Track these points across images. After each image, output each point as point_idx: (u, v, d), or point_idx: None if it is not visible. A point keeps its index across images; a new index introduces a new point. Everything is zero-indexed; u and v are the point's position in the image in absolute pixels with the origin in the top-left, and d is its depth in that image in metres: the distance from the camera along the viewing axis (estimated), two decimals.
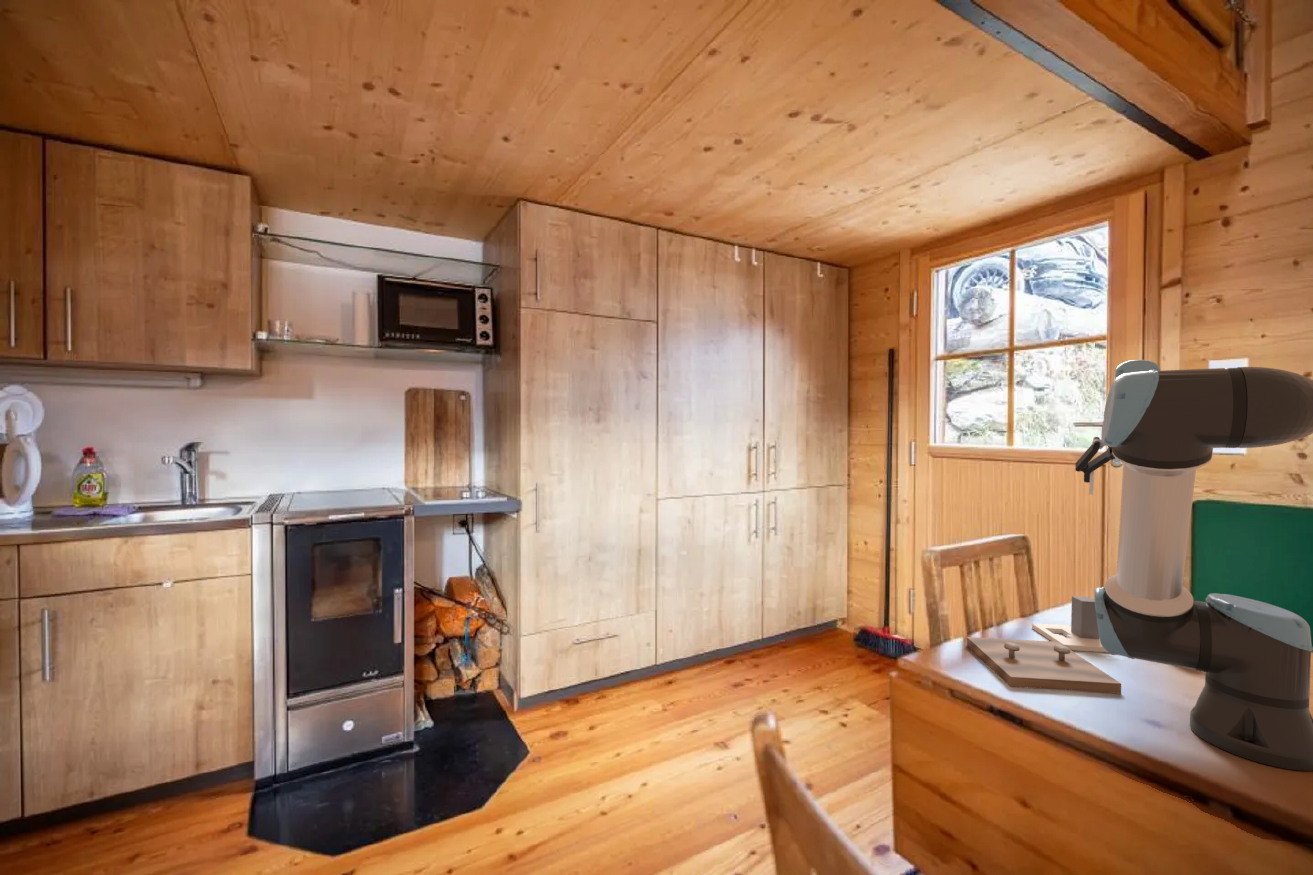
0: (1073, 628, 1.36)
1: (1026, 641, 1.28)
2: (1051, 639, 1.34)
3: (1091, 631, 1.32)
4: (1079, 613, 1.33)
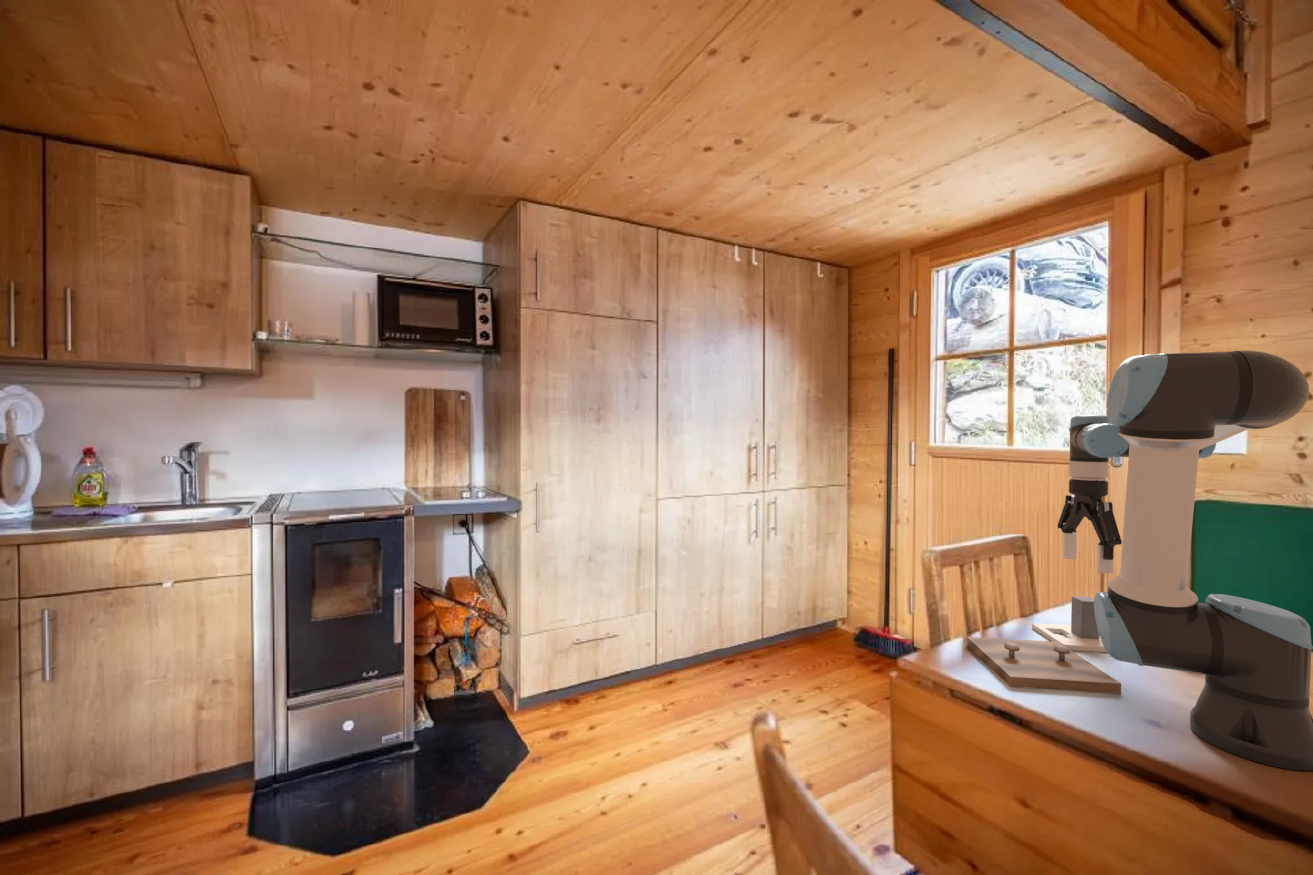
0: (1073, 628, 1.36)
1: (1026, 641, 1.28)
2: (1051, 639, 1.34)
3: (1091, 631, 1.32)
4: (1079, 613, 1.33)
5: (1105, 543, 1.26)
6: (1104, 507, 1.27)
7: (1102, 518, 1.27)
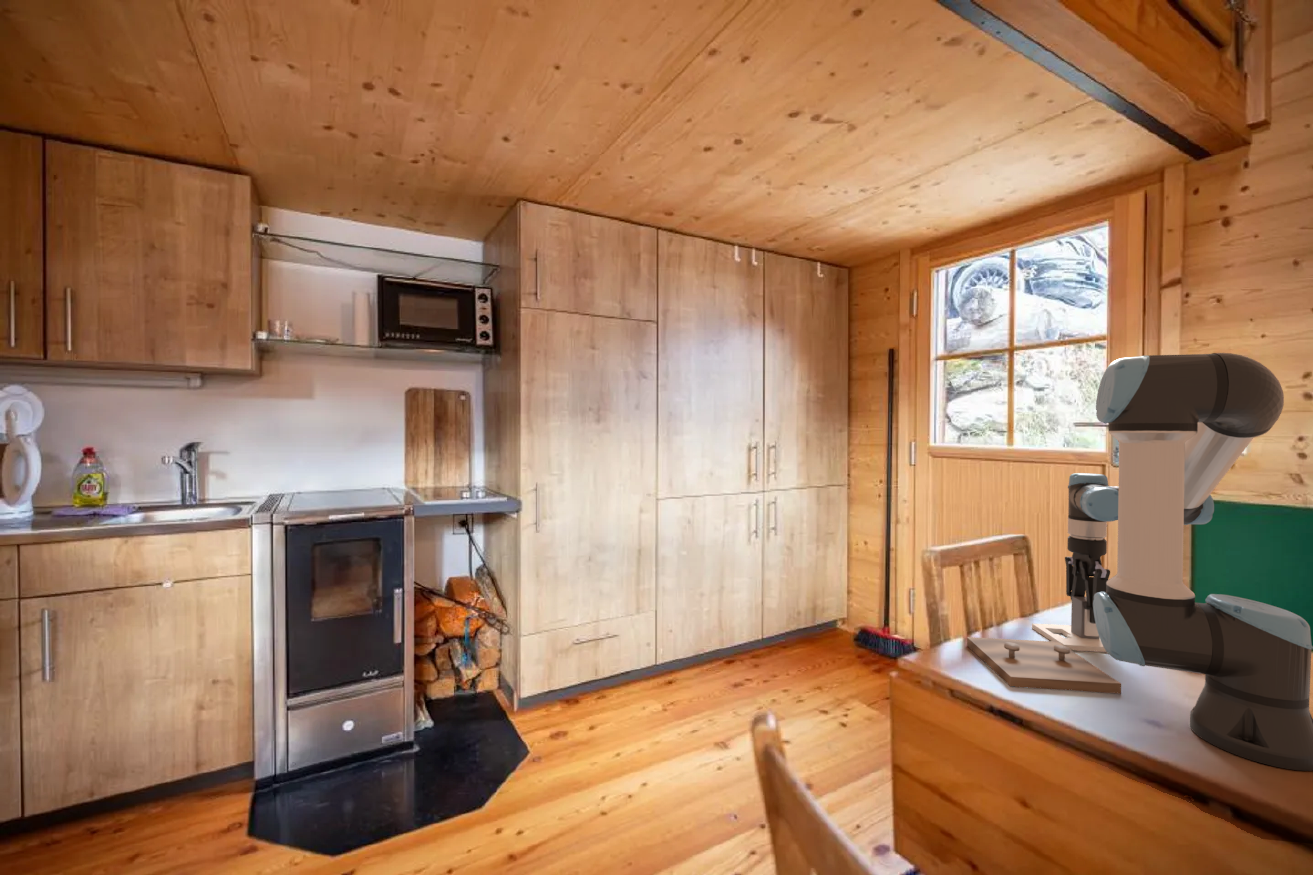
0: (1073, 628, 1.36)
1: (1026, 641, 1.28)
2: (1051, 639, 1.34)
3: None
4: (1079, 613, 1.33)
5: (1091, 608, 1.31)
6: (1101, 575, 1.28)
7: (1095, 584, 1.29)
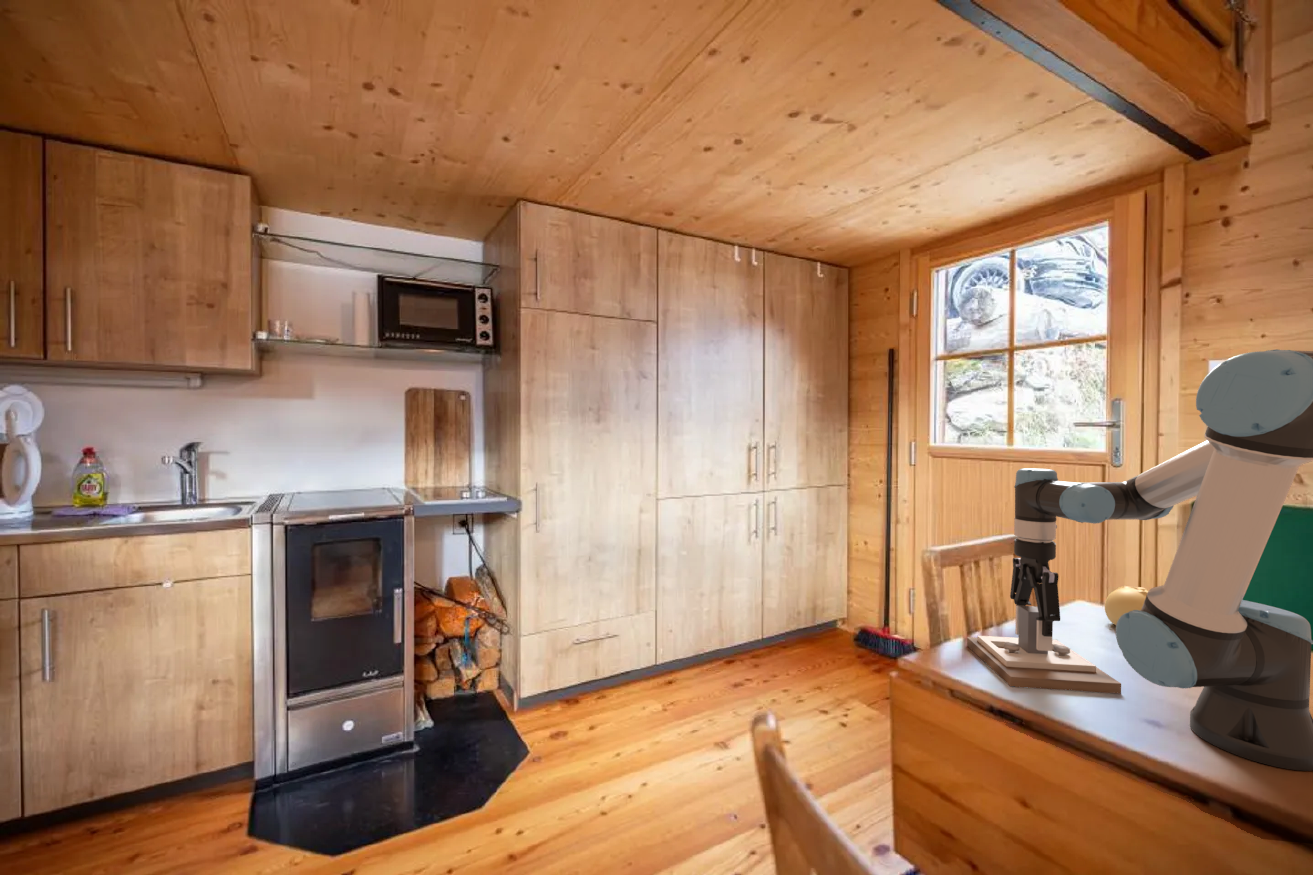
0: (1020, 642, 1.22)
1: None
2: (995, 654, 1.20)
3: None
4: (1026, 625, 1.20)
5: (1043, 619, 1.15)
6: (1049, 579, 1.14)
7: (1044, 591, 1.14)
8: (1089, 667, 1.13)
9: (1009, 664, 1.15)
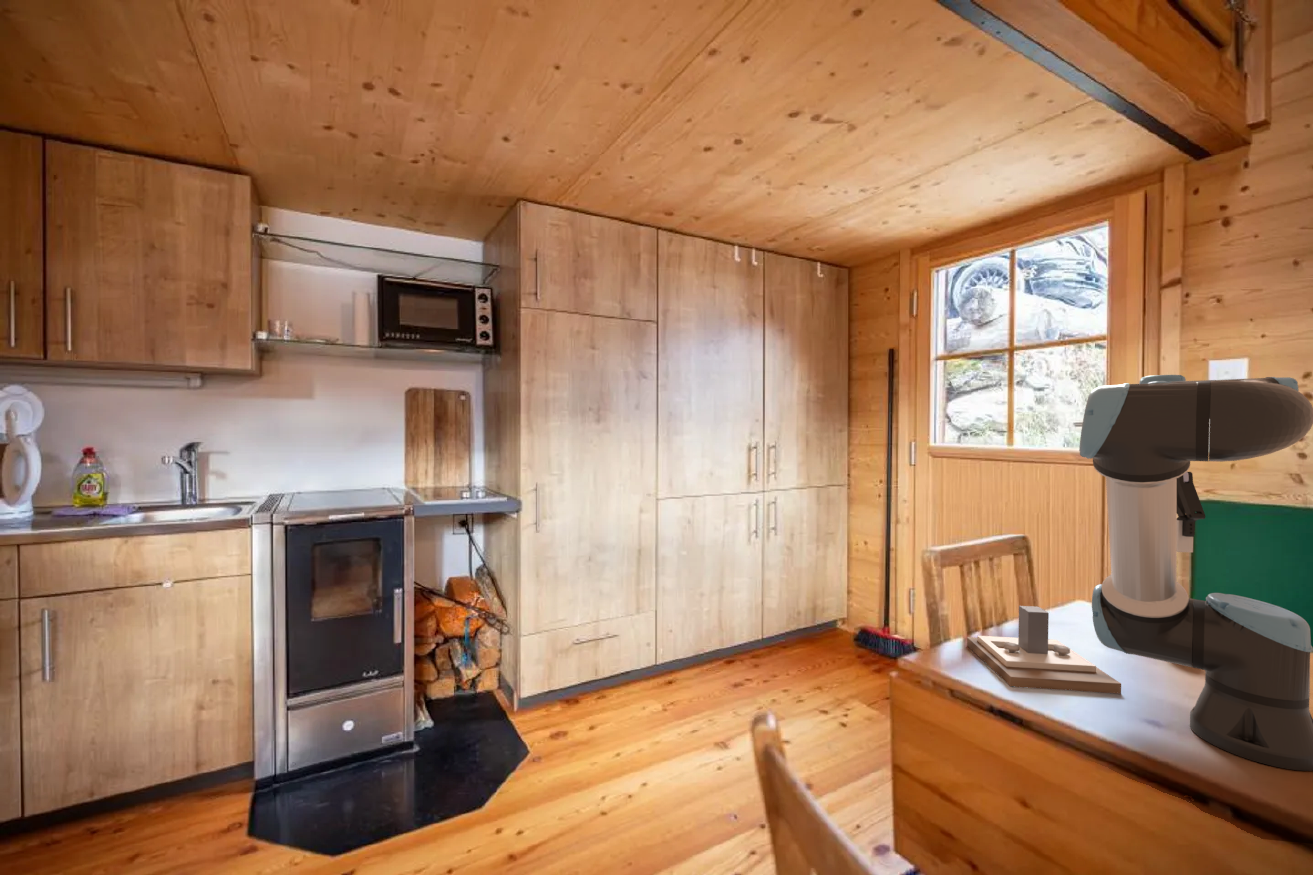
0: (1020, 642, 1.22)
1: None
2: (995, 654, 1.20)
3: (1039, 645, 1.19)
4: (1026, 625, 1.20)
5: (1185, 518, 1.11)
6: (1183, 477, 1.12)
7: (1181, 490, 1.12)
8: (1089, 667, 1.13)
9: (1009, 664, 1.15)
